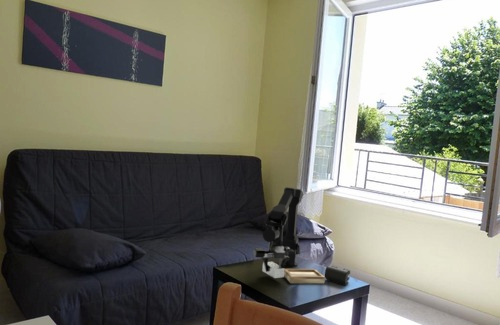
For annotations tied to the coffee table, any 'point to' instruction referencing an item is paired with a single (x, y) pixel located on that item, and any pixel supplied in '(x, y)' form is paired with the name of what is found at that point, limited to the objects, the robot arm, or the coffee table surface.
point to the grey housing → (274, 270)
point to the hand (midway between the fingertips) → (272, 271)
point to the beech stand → (303, 276)
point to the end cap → (337, 275)
